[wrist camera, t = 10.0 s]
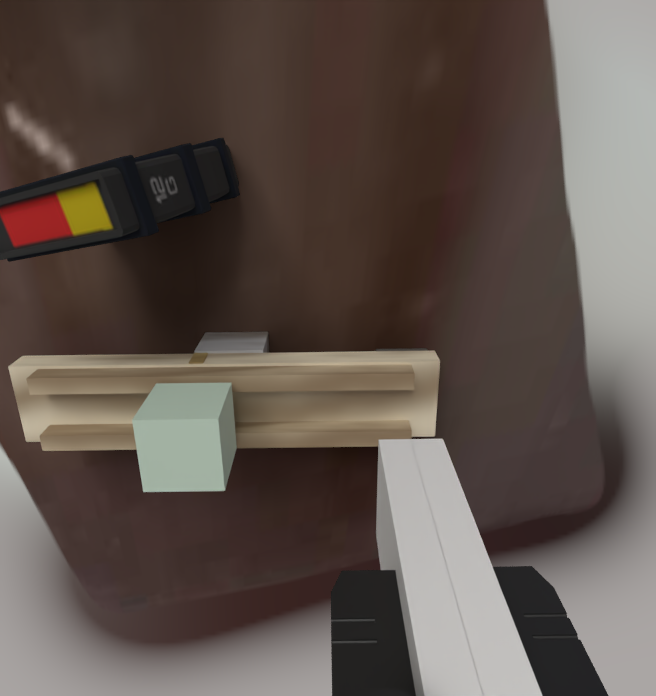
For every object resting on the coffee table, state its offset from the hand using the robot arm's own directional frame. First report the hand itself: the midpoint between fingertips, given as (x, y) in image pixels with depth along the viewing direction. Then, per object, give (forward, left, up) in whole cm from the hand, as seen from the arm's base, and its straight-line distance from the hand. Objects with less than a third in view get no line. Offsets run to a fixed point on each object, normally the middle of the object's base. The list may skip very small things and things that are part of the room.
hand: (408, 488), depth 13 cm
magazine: (-4, -15, -31) cm, 34 cm away
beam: (+10, -9, -30) cm, 33 cm away
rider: (+10, -11, -24) cm, 28 cm away
